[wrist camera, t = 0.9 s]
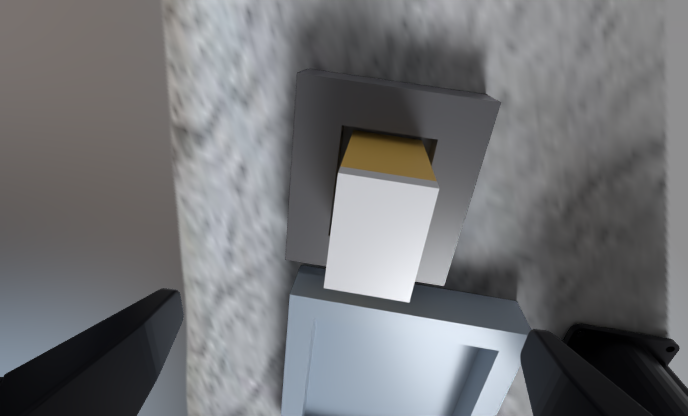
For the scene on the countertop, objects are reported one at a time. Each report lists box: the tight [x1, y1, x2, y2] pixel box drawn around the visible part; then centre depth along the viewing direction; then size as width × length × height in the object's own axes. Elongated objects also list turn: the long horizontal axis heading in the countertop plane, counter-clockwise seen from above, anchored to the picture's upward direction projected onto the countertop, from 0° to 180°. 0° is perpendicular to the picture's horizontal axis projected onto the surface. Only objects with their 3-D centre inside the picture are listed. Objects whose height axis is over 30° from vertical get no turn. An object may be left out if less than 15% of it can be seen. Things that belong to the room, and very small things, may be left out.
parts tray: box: [281, 265, 531, 416], centre depth 25 cm, size 14×16×3 cm
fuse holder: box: [285, 69, 501, 286], centre depth 19 cm, size 9×10×2 cm
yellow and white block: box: [324, 130, 439, 302], centre depth 16 cm, size 4×5×6 cm
